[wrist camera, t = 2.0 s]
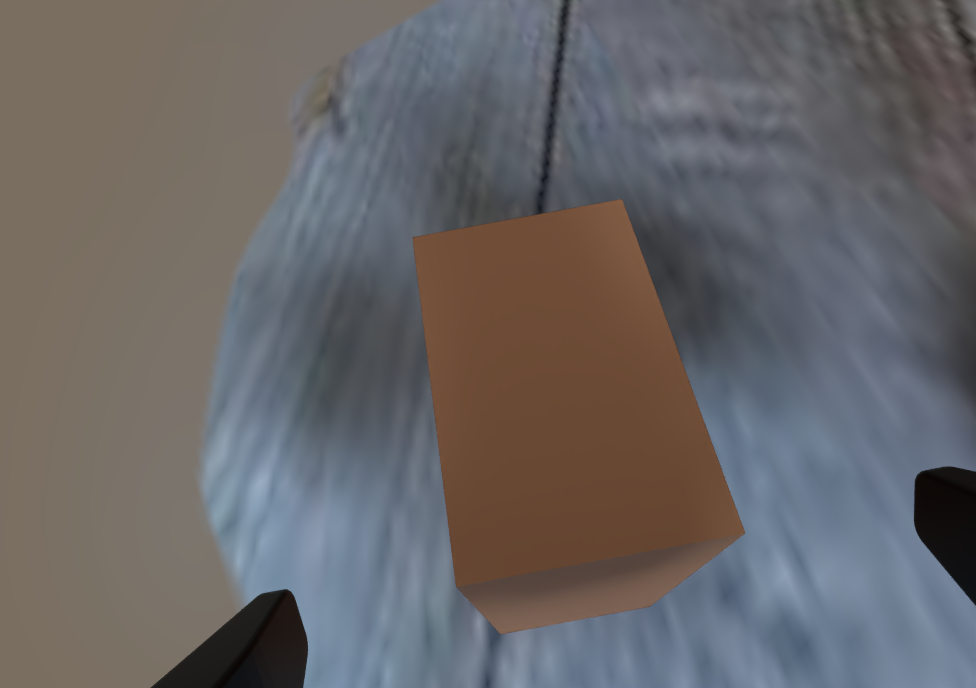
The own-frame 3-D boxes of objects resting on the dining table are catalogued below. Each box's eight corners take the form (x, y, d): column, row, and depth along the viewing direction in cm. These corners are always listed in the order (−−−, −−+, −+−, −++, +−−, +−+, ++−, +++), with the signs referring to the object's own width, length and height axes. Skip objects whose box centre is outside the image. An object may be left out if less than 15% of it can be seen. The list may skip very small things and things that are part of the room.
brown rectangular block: (649, 606, 18) (745, 532, 9) (500, 634, 18) (455, 586, 9) (591, 396, 21) (621, 199, 13) (467, 419, 21) (412, 237, 13)
